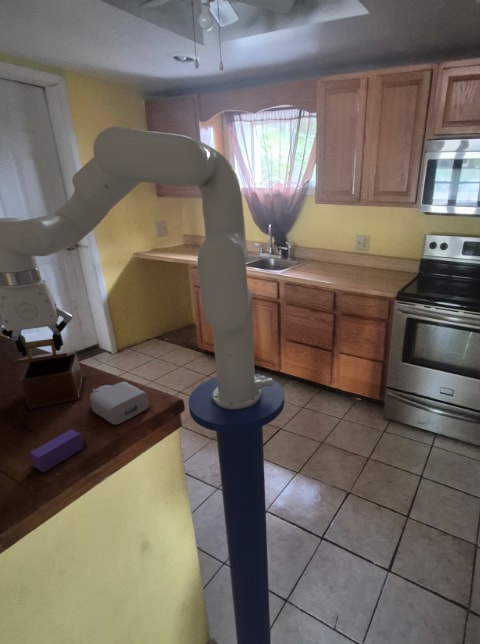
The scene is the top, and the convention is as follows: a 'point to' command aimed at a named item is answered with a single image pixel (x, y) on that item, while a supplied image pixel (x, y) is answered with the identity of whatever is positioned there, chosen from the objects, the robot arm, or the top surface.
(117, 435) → the top surface
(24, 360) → the lid
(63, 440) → the purple rectangular block
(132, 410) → the charger
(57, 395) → the chest
